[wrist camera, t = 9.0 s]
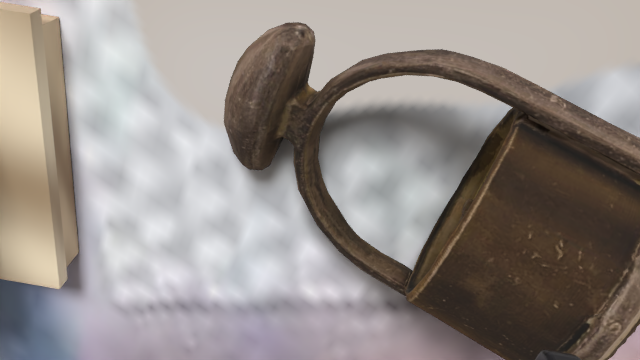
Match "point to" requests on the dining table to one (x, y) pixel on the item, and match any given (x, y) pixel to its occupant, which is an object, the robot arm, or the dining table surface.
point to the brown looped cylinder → (476, 200)
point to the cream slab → (34, 151)
